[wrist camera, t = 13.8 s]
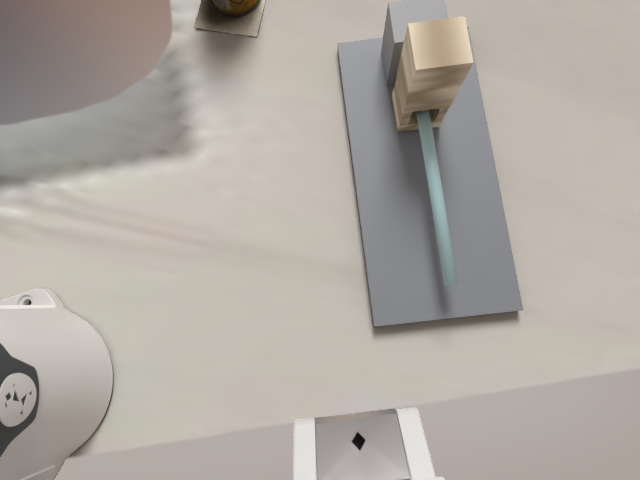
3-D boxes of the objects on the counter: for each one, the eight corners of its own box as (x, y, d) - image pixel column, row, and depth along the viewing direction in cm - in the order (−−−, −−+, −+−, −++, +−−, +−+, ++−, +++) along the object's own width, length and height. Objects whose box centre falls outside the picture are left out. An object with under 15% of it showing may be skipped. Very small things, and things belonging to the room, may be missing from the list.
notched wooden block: (396, 132, 43) (415, 70, 32) (391, 95, 44) (408, 23, 33) (440, 126, 43) (473, 62, 32) (434, 90, 44) (464, 16, 33)
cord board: (373, 326, 42) (381, 328, 33) (337, 50, 47) (336, -5, 39) (517, 310, 41) (561, 308, 33) (464, 34, 47) (490, -26, 38)
